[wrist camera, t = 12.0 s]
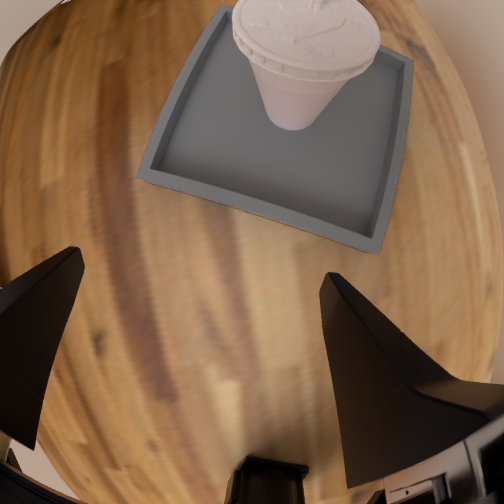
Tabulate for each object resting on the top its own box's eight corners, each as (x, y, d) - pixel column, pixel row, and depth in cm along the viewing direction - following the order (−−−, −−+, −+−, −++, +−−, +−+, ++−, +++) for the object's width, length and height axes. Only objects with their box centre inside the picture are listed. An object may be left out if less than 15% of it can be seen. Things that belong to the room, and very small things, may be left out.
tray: (402, 74, 18) (413, 60, 15) (365, 252, 19) (378, 254, 16) (224, 21, 18) (220, 4, 16) (150, 183, 19) (136, 177, 17)
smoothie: (349, 100, 17) (432, -37, 3) (309, 165, 18) (395, 23, 4) (275, 60, 17) (278, -93, 3) (228, 120, 18) (169, -43, 4)
